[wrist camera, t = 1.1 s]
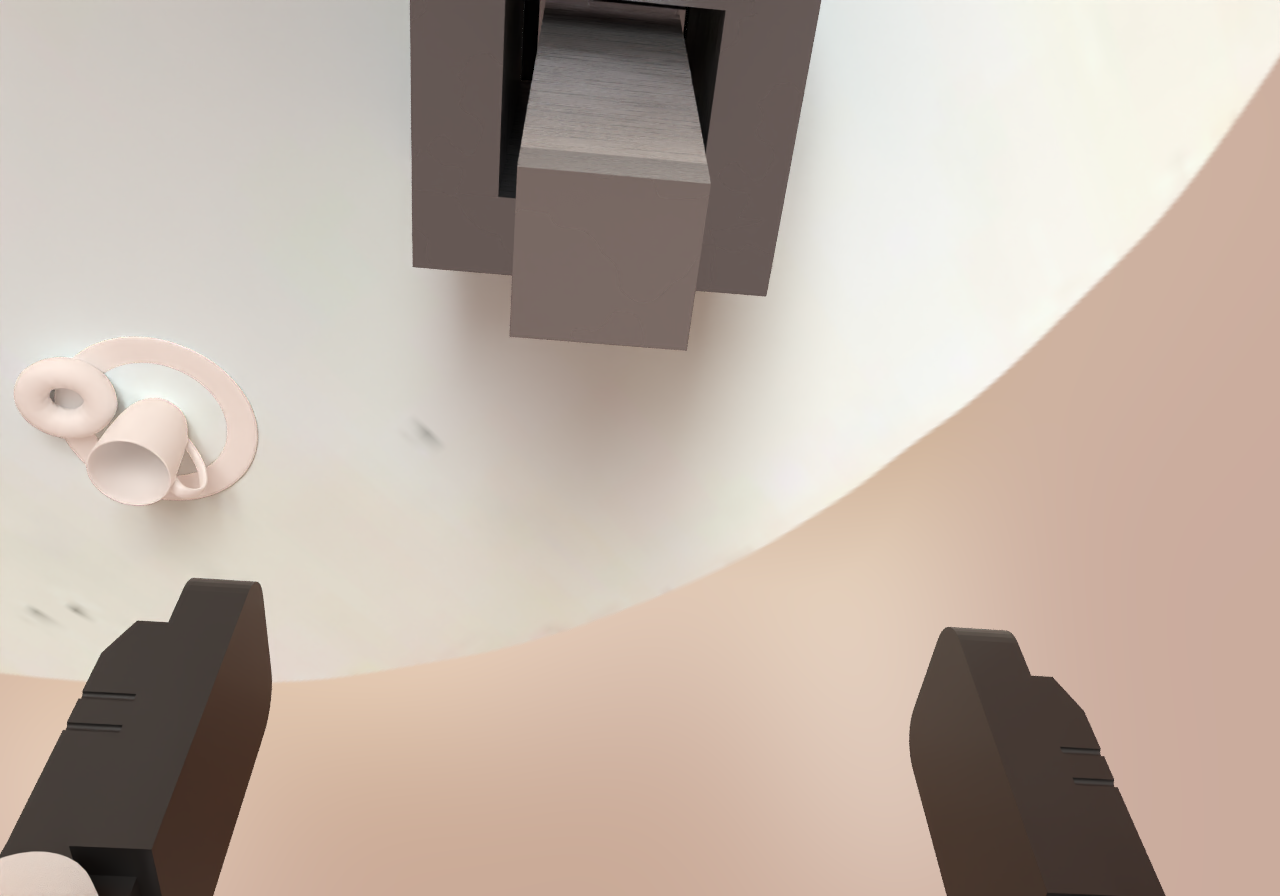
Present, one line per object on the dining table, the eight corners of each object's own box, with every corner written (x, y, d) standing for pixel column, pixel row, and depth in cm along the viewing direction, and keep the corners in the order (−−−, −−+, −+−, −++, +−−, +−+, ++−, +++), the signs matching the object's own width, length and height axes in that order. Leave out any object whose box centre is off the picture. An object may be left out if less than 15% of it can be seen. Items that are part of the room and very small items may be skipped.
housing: (422, -226, 34) (353, -174, 25) (821, -179, 35) (898, -112, 26) (423, 163, 41) (369, 317, 32) (757, 193, 42) (800, 351, 33)
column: (551, -65, 37) (509, 157, 21) (673, -52, 37) (720, 177, 21) (544, 59, 39) (501, 342, 23) (659, 70, 39) (693, 357, 24)
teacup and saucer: (-1, 378, 46) (-48, 436, 43) (142, 279, 44) (103, 332, 40) (163, 521, 50) (131, 584, 47) (301, 438, 48) (278, 498, 45)
